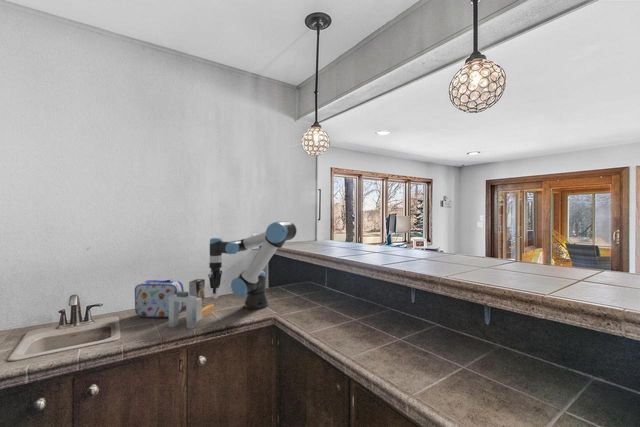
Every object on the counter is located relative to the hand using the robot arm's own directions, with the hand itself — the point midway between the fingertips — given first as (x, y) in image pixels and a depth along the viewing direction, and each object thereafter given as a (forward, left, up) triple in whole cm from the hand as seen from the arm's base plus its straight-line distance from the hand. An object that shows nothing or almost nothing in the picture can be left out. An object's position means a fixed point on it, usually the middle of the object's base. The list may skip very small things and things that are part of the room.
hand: (215, 298), depth 193 cm
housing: (0, +33, -6) cm, 33 cm away
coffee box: (+16, -3, -6) cm, 17 cm away
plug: (0, +15, -6) cm, 16 cm away
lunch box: (+24, +21, -6) cm, 32 cm away
